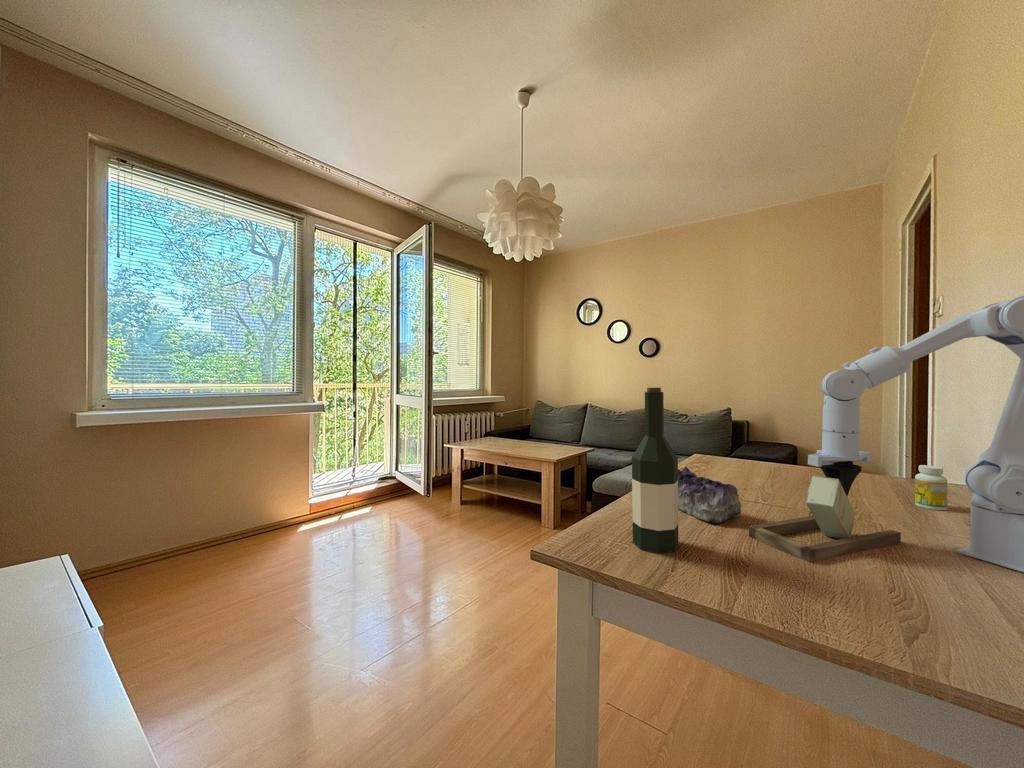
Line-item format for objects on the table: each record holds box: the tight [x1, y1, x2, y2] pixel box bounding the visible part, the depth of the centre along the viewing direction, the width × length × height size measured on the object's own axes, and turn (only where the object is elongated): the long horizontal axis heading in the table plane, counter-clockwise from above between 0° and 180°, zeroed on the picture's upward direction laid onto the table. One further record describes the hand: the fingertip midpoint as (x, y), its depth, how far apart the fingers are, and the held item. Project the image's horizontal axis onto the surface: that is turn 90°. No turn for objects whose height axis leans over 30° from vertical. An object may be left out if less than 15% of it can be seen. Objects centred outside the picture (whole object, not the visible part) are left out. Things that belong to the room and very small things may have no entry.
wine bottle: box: [631, 387, 679, 554], centre depth 77 cm, size 8×8×30 cm
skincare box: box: [805, 475, 856, 540], centre depth 78 cm, size 6×4×12 cm
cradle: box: [748, 515, 902, 563], centre depth 79 cm, size 12×24×2 cm, turn 108°
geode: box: [678, 466, 742, 525], centre depth 97 cm, size 20×12×10 cm, turn 18°
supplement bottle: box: [914, 464, 949, 511], centre depth 96 cm, size 5×5×10 cm
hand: (838, 500), depth 80 cm, fingers closed, pressing on skincare box
